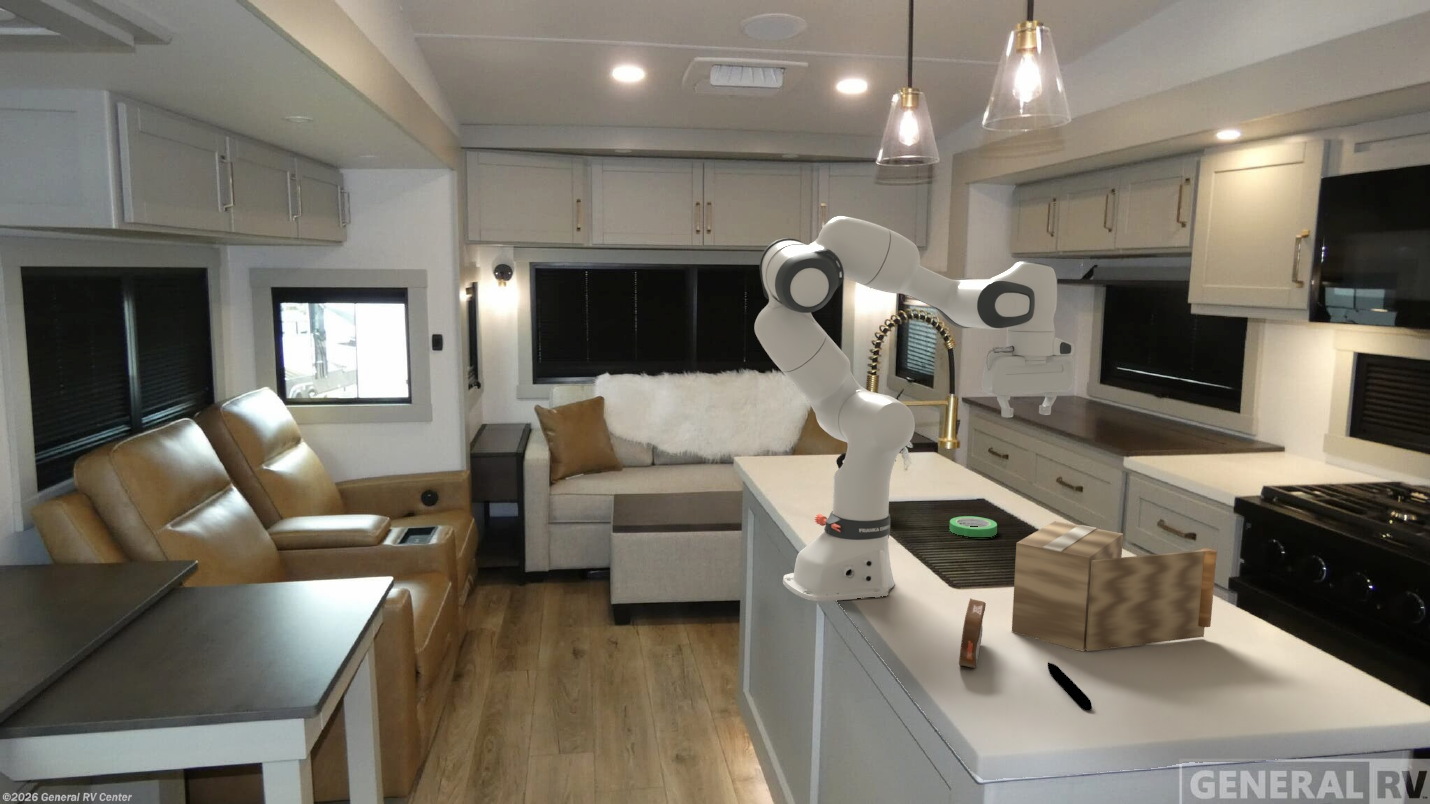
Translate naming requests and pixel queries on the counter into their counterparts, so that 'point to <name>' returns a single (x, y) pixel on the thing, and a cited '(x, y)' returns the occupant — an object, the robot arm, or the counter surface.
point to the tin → (972, 634)
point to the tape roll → (963, 527)
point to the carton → (1058, 581)
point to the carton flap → (1150, 598)
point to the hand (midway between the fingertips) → (1026, 415)
